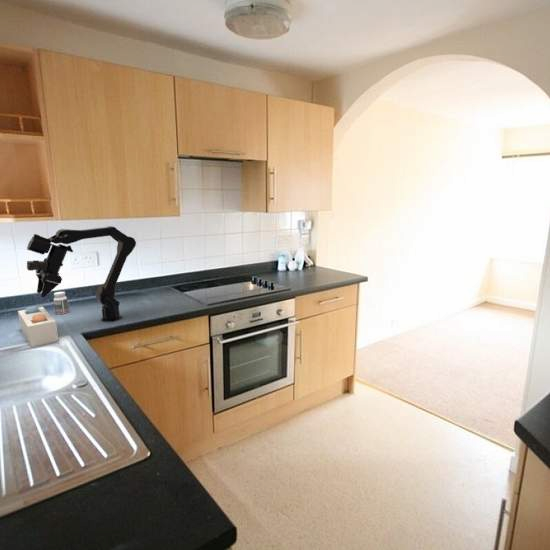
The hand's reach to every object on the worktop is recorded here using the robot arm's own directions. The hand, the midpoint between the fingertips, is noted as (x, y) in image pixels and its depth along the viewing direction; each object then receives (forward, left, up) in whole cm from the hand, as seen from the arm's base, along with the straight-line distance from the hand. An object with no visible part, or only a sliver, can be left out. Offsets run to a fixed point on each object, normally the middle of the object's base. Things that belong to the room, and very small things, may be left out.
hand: (40, 294), depth 149 cm
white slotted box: (+1, +2, -16) cm, 16 cm away
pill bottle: (+14, -25, -16) cm, 33 cm away
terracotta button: (-5, +7, -9) cm, 12 cm away
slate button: (+7, -2, -9) cm, 12 cm away
